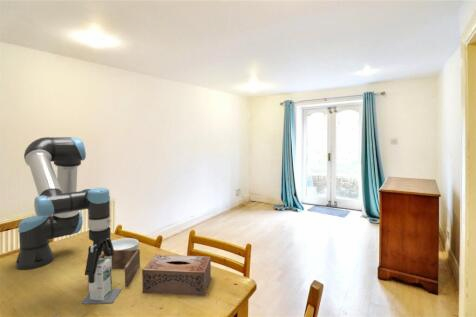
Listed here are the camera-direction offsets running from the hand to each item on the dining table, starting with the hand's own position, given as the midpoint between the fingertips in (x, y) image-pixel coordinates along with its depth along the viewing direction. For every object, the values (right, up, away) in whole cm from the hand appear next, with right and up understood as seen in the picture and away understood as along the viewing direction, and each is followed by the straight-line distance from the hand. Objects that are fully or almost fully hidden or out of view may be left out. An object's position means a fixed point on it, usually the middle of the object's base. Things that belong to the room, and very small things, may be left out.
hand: (101, 279), depth 105 cm
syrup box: (0, -7, 0) cm, 7 cm away
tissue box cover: (+29, -7, +10) cm, 31 cm away
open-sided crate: (-1, -6, +15) cm, 16 cm away
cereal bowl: (-8, -4, +37) cm, 38 cm away
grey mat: (0, -7, 0) cm, 7 cm away
